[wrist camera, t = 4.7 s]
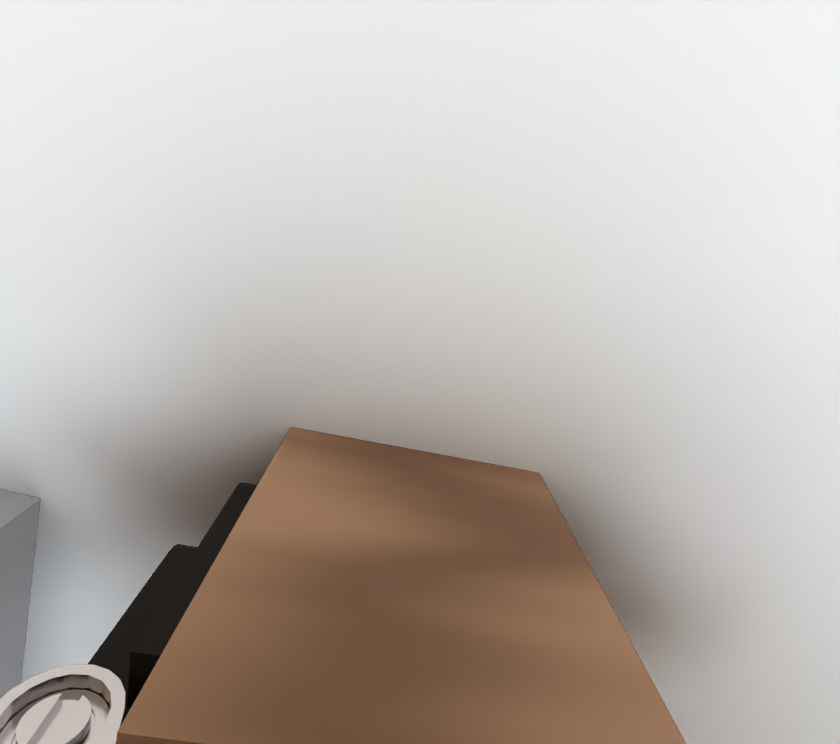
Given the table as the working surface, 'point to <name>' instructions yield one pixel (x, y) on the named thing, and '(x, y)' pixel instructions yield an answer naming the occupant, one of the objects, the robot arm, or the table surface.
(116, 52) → the table surface
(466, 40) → the table surface
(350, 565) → the copper block
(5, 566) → the slate base
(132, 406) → the table surface
